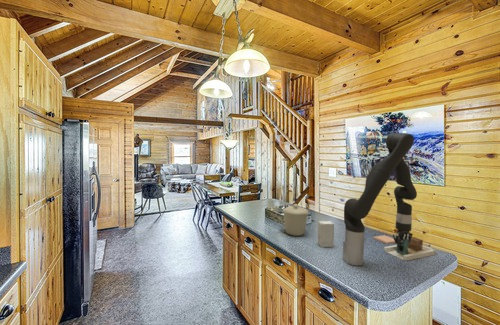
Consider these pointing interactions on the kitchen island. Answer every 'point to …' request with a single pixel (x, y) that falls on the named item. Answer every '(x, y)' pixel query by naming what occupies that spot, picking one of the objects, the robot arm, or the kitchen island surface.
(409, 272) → the kitchen island surface
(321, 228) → the skincare box
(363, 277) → the kitchen island surface
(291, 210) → the canister
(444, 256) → the kitchen island surface
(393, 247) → the cream tray
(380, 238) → the plate
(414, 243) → the block
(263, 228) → the kitchen island surface
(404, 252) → the l-shaped stand
